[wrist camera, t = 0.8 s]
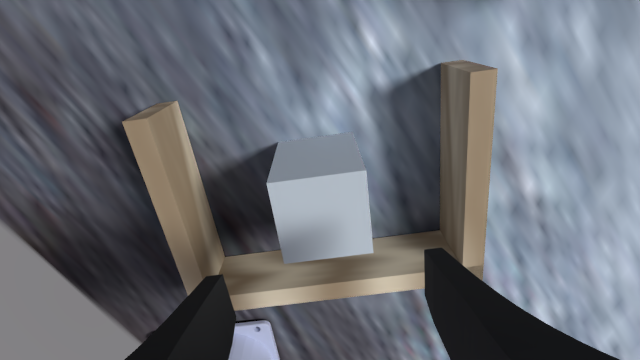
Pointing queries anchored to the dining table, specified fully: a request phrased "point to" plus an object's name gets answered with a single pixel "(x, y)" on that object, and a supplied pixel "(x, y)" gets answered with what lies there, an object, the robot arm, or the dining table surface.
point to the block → (320, 198)
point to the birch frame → (334, 273)
